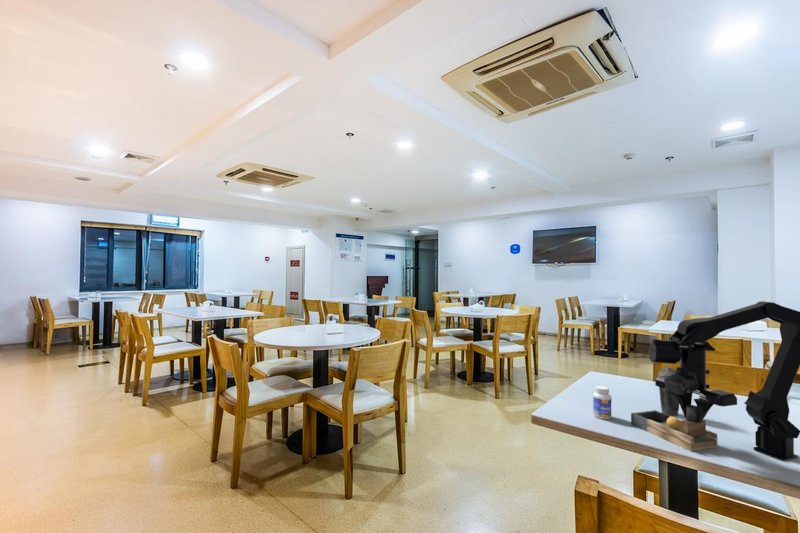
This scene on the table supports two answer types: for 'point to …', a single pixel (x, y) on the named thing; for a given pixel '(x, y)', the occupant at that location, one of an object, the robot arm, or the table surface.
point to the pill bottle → (602, 403)
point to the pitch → (682, 436)
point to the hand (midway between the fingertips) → (692, 420)
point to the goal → (641, 418)
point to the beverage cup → (668, 395)
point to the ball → (673, 423)
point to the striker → (692, 423)
